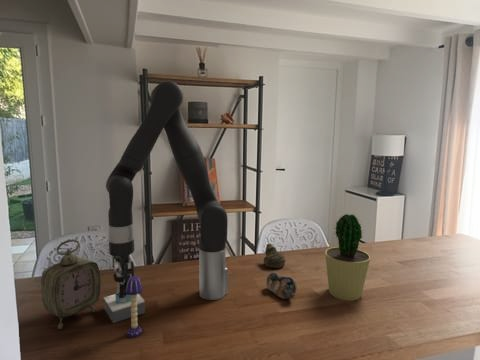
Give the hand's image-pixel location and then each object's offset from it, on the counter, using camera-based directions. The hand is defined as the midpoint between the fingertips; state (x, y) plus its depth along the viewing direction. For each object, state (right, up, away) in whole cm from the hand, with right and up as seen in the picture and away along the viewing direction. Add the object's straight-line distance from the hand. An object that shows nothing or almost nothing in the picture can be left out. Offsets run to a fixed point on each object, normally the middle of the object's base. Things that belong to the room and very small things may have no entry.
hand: (123, 287), depth 105 cm
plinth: (0, -8, +1) cm, 8 cm away
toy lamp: (+7, -10, -10) cm, 16 cm away
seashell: (+53, -4, +37) cm, 65 cm away
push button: (+1, -4, 0) cm, 5 cm away
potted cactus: (+76, -7, +15) cm, 77 cm away
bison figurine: (+52, -7, +13) cm, 54 cm away
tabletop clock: (-15, -9, -3) cm, 17 cm away
